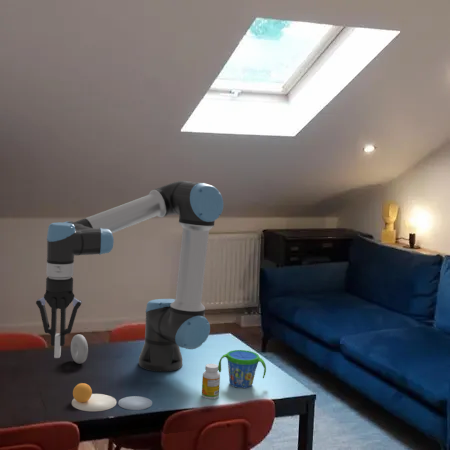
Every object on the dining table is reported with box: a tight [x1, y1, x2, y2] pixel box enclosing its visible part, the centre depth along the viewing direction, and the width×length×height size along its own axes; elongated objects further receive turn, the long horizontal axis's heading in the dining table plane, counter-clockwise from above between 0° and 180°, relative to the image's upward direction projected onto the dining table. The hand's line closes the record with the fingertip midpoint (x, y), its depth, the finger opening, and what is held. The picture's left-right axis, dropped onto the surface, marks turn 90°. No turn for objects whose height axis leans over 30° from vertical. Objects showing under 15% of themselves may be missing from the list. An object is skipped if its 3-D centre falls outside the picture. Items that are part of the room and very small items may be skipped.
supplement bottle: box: [201, 363, 221, 400], centre depth 213 cm, size 5×5×10 cm
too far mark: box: [117, 395, 153, 411], centre depth 204 cm, size 10×10×1 cm
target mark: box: [71, 393, 118, 412], centre depth 203 cm, size 13×13×1 cm
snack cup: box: [217, 349, 267, 389], centre depth 224 cm, size 16×10×10 cm
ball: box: [72, 382, 93, 402], centre depth 203 cm, size 6×6×6 cm
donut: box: [70, 333, 89, 365], centre depth 236 cm, size 10×4×10 cm, turn 34°
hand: (57, 356), depth 200 cm, fingers closed
